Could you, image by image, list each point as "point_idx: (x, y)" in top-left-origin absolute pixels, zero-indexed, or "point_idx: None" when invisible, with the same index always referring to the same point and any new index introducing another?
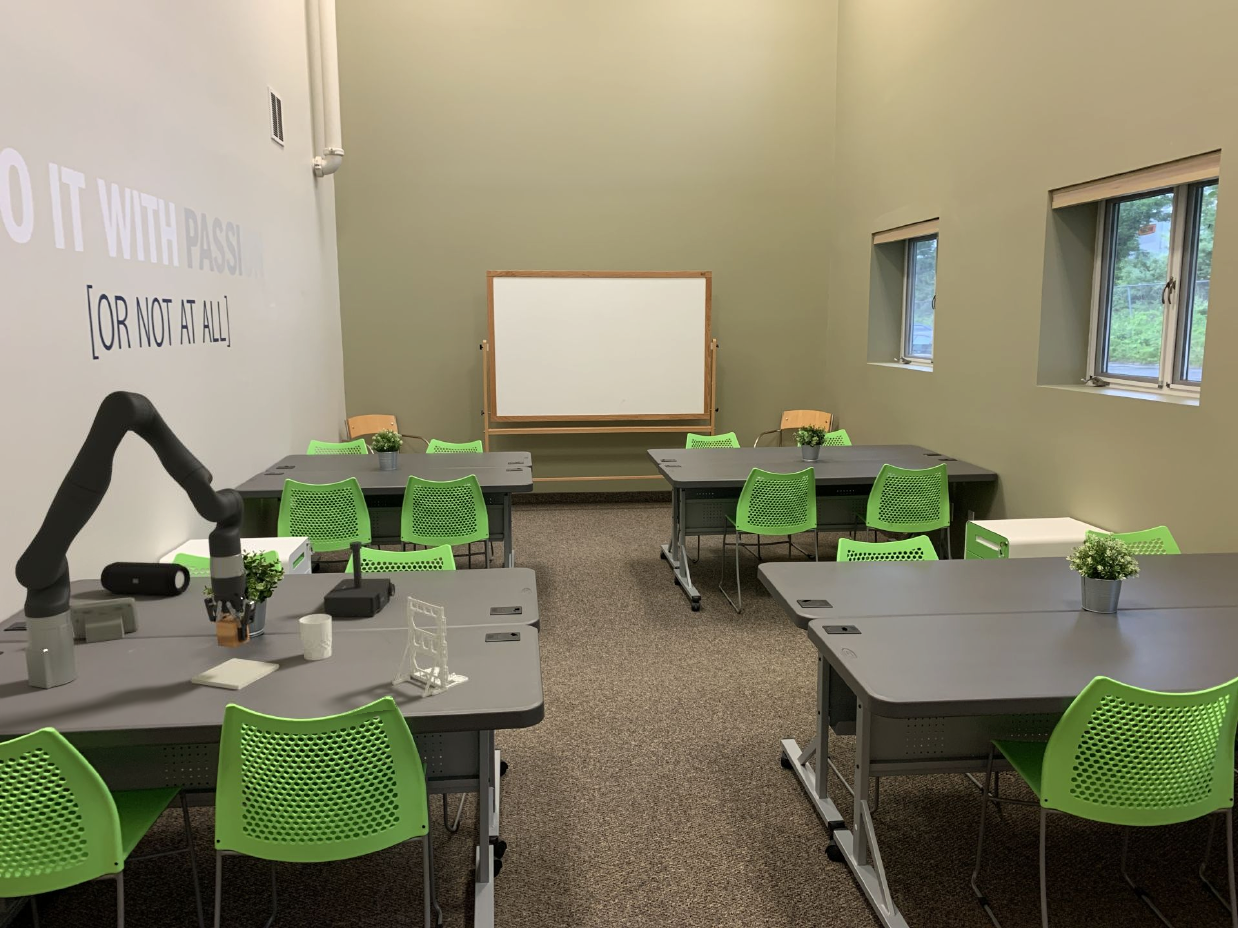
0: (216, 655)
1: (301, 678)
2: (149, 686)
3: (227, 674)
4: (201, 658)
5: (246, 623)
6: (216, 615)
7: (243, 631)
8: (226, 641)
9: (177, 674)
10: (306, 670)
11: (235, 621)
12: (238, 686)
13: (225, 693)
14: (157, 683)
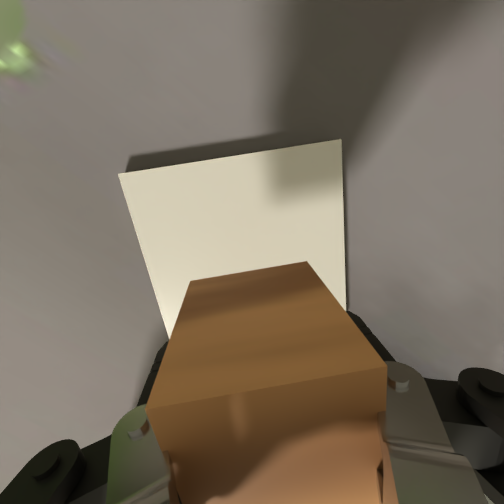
0: (427, 326)
1: (41, 328)
2: (461, 33)
3: (250, 229)
4: (454, 293)
5: (26, 474)
6: (455, 457)
7: (145, 390)
8: (246, 285)
9: (438, 170)
10: (90, 369)
11: (197, 457)
12: (119, 174)
13: (134, 125)
14: (451, 72)
